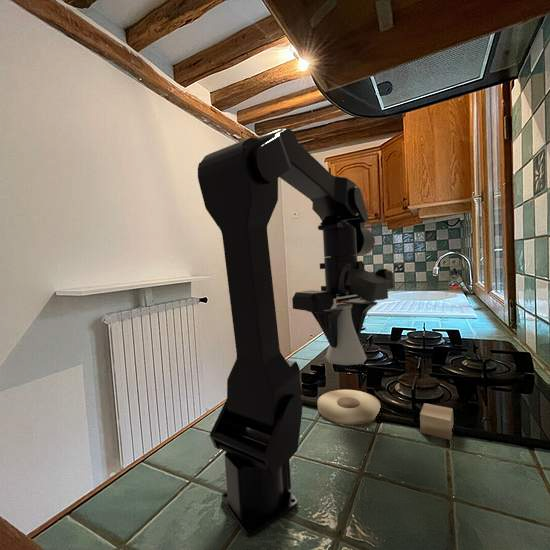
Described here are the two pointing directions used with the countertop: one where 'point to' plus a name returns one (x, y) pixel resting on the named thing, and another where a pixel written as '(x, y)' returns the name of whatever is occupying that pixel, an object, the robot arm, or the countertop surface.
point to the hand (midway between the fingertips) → (344, 344)
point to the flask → (346, 340)
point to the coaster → (348, 407)
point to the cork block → (436, 421)
